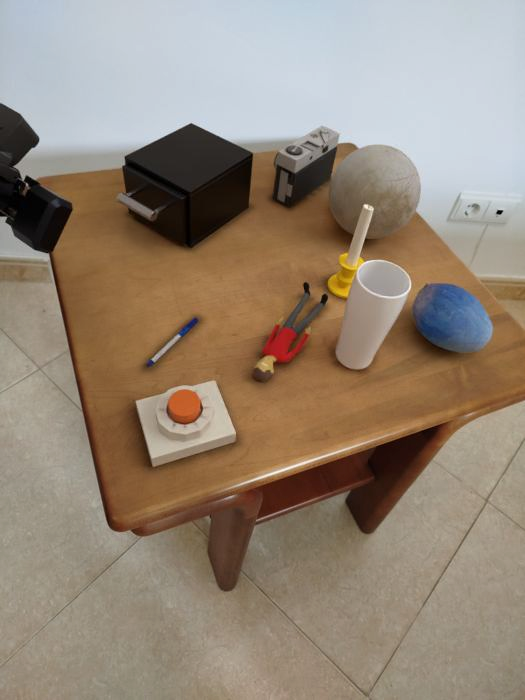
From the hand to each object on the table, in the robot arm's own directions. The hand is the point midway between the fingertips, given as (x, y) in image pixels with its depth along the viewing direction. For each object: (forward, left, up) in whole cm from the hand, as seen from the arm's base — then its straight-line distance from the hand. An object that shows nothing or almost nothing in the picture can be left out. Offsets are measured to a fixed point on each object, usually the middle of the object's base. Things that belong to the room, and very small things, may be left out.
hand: (56, 213), depth 62 cm
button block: (+17, -24, -13) cm, 32 cm away
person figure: (+31, -10, -13) cm, 35 cm away
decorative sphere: (+47, +16, -13) cm, 51 cm away
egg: (+53, -8, -13) cm, 55 cm away
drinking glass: (+40, -13, -13) cm, 44 cm away
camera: (+36, +29, -13) cm, 48 cm away
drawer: (+14, +17, -12) cm, 25 cm away
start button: (+17, -24, -9) cm, 31 cm away
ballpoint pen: (+15, -11, -13) cm, 22 cm away
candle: (+41, +1, -13) cm, 43 cm away
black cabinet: (+16, +20, -13) cm, 28 cm away
